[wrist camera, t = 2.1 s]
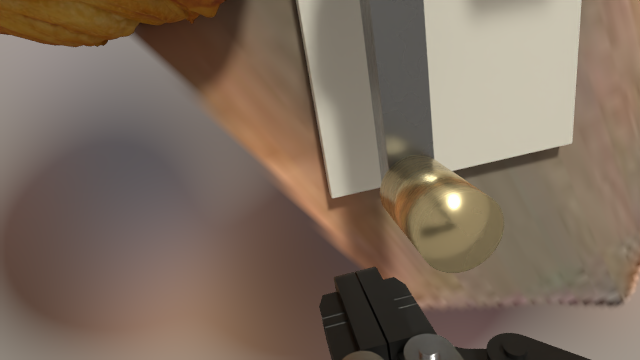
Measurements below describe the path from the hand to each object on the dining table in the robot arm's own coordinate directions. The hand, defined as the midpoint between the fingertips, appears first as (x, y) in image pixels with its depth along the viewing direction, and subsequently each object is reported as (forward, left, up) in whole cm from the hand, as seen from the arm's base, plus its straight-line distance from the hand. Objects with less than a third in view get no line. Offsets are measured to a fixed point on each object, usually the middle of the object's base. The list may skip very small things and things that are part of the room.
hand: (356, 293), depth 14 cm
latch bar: (-7, +5, -8) cm, 12 cm away
